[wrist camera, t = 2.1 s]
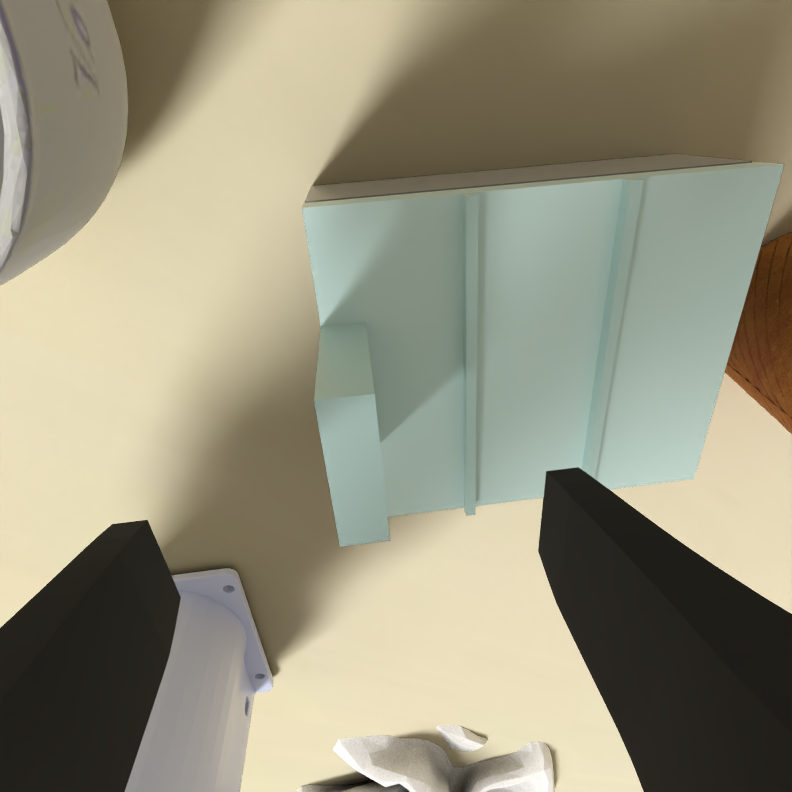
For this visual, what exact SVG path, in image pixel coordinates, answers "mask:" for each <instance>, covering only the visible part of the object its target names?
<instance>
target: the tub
mask: <svg viewBox="0 0 792 792" xmlns="http://www.w3.org/2000/svg"><path fill="white" fill-rule="evenodd" d="M743 163H752V161H746V160H735V159H725V158H714V157H704V156H693V155H683V154H667V155H656V156H644V157H633V158H622V159H610V160H599V161H588V162H576V163H565V164H554V165H543V166H531V167H520V168H509V169H497V170H486V171H475V172H464V173H452V174H441V175H430V176H418V177H407V178H396V179H384V180H373V181H362V182H351V183H339V184H328V185H317V186H311V189H310V191H309V193H308V195H307V198H306V200H305V203H311V202H322V201H333V200H344V199H355V198H366V197H377V196H389V195H400V194H411V193H422V192H433V191H444V190H455V189H466V188H477V187H488V186H499V185H510V184H521V183H533V182H544V181H555V180H566V179H577V178H588V177H599V176H610V175H621V174H632V173H643V172H654V171H665V170H677V169H688V168H699V167H710V166H721V165H732V164H743Z"/></svg>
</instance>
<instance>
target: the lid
mask: <svg viewBox="0 0 792 792" xmlns="http://www.w3.org/2000/svg"><path fill="white" fill-rule="evenodd" d="M783 167H784V164H777V163H767V162H754V163H743V164H732V165H721V166H710V167H699V168H688V169H677V170H665V171H654V172H643V173H632V174H621V175H610V176H599V177H588V178H577V179H566V180H555V181H544V182H533V183H521V184H510V185H499V186H488V187H477V188H466V189H455V190H444V191H433V192H422V193H411V194H400V195H389V196H377V197H366V198H355V199H344V200H333V201H322V202H311V203H304V205H303V207H302V211H303V217H304V224H305V230H306V236H307V243H308V249H309V256H310V262H311V268H312V275H313V281H314V287H315V294H316V300H317V307H318V313H319V319H320V326H321V328H320V339H319V350H318V361H317V371H316V382H315V393H314V405H315V410H316V416H317V421H318V427H319V433H320V438H321V444H322V450H323V455H324V461H325V466H326V472H327V478H328V483H329V489H330V495H331V500H332V506H333V512H334V517H335V523H336V528H337V534H338V540H339V545H340V547H343V546H351V545H359V544H367V543H375V542H382V541H390V533H389V524H388V517H392V516H400V515H408V514H416V513H424V512H432V511H440V510H448V509H456V508H464V510H465V513H466V516H468V515H475V506H480V505H488V504H496V503H504V502H512V501H520V500H528V499H536V498H544V489H545V478H546V471H552V470H560V469H568V468H576V467H579V468H580V469H582V470H583V471H585V472H586V473H587V474H589V475H590V476H592V477H593V478H594V479H596V480H597V481H598V482H600V483H601V484H602V485H604V486H605V487H606V488H608V489H617V488H625V487H633V486H641V485H649V484H657V483H665V482H673V481H681V480H689V479H694V476H695V472H696V469H697V466H698V462H699V459H700V455H701V452H702V448H703V445H704V441H705V438H706V434H707V431H708V427H709V424H710V420H711V417H712V414H713V410H714V407H715V403H716V400H717V396H718V393H719V389H720V386H721V382H722V379H723V375H724V372H725V368H726V365H727V362H728V358H729V355H730V351H731V348H732V344H733V341H734V337H735V334H736V330H737V327H738V323H739V320H740V316H741V313H742V310H743V306H744V303H745V299H746V296H747V292H748V289H749V285H750V282H751V278H752V275H753V271H754V268H755V264H756V261H757V258H758V254H759V251H760V247H761V244H762V240H763V237H764V233H765V230H766V226H767V223H768V219H769V216H770V212H771V209H772V206H773V202H774V199H775V195H776V192H777V188H778V185H779V181H780V178H781V174H782V171H783Z"/></svg>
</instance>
